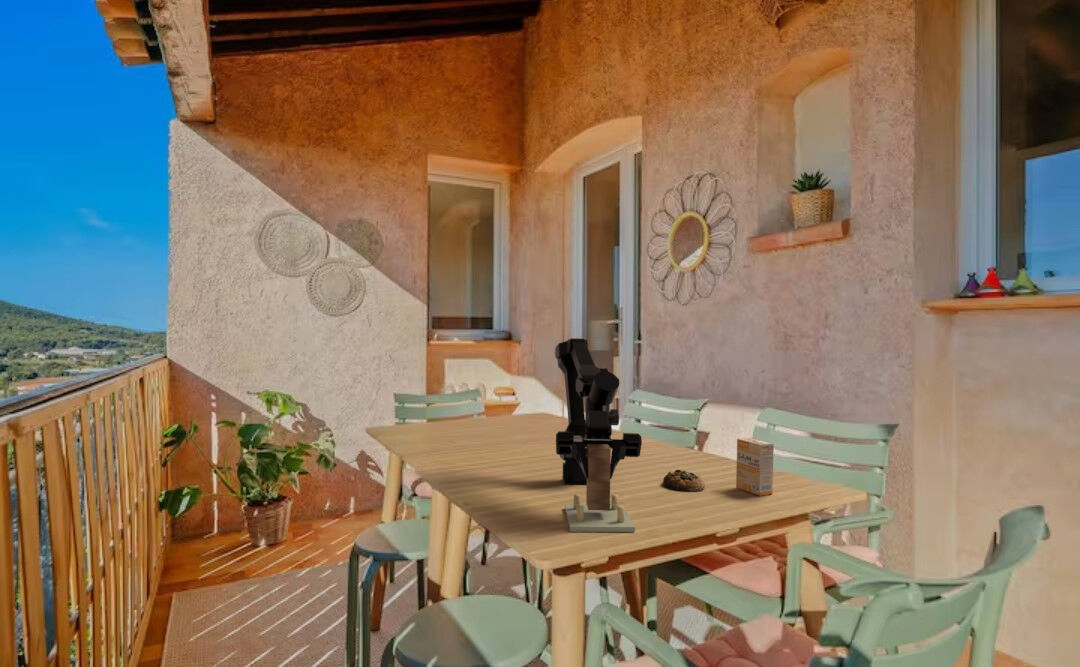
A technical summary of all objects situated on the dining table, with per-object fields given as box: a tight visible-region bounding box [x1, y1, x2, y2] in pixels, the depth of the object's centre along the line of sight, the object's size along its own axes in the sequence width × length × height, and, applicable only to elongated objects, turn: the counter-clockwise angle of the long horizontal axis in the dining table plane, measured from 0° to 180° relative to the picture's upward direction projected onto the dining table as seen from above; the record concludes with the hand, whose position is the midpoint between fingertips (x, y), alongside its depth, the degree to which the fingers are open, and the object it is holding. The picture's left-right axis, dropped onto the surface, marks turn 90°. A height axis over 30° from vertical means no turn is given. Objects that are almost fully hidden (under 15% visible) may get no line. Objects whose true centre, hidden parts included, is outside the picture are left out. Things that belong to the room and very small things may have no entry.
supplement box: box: [735, 437, 775, 497], centre depth 144 cm, size 8×5×13 cm, turn 25°
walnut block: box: [585, 444, 612, 510], centre depth 120 cm, size 4×4×13 cm
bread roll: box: [662, 469, 706, 492], centre depth 148 cm, size 11×11×5 cm
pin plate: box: [564, 493, 636, 533], centre depth 120 cm, size 13×15×4 cm
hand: (598, 477), depth 119 cm, fingers closed on walnut block, 5 cm apart
